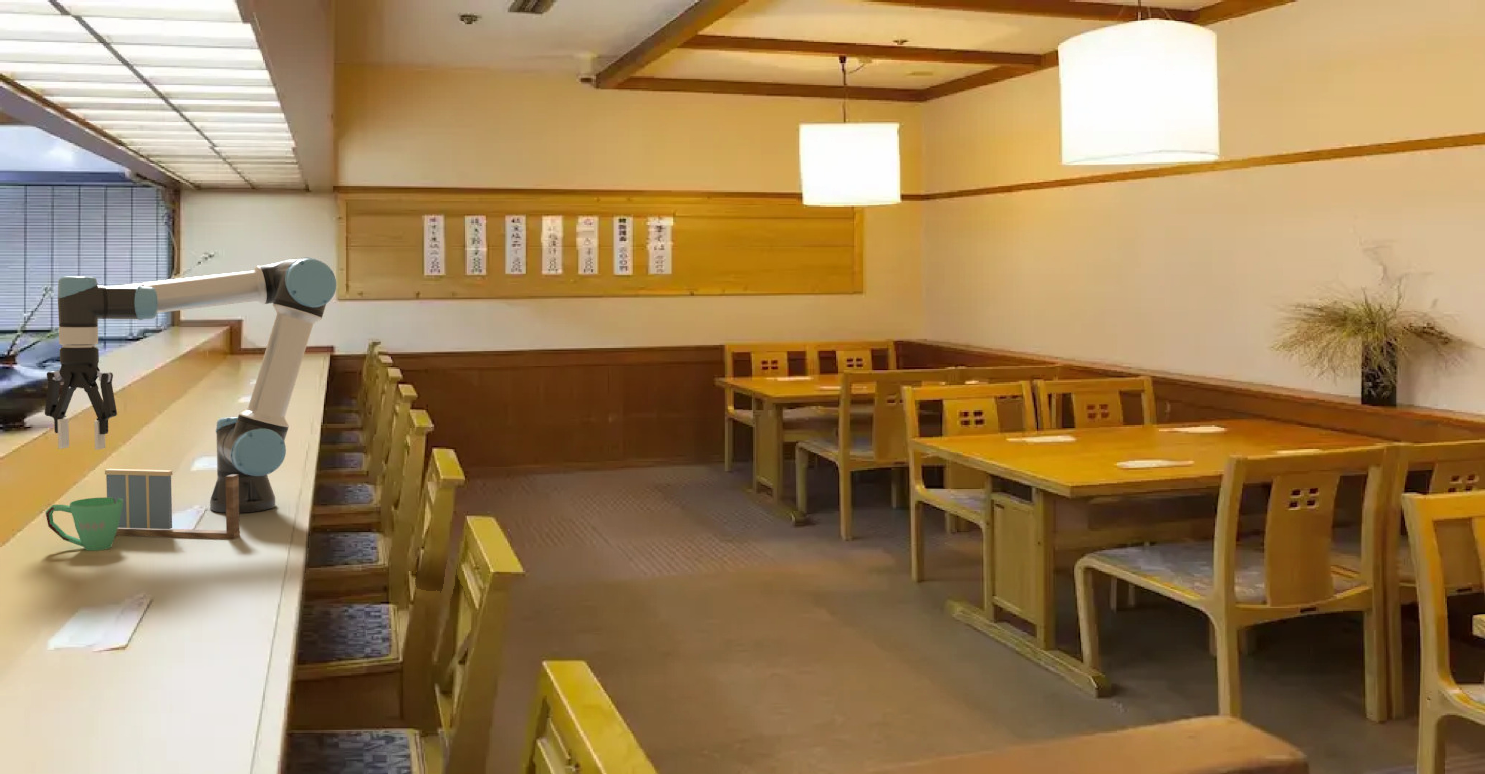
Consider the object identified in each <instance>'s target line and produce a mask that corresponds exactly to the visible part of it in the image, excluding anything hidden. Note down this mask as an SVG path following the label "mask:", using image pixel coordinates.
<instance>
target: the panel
mask: <svg viewBox="0 0 1485 774" xmlns="http://www.w3.org/2000/svg"><path fill="white" fill-rule="evenodd" d="M104 475H106V478H105V480H106V481H105V482H106V497H110V498H114V500H115V503H117V499H118V498H119V499H122V500H123V507H122V511H121V515H120V520H119V525H118V528H146V529H173V507H172V505H173V504H172V500H173V499H172V496H173V495H172V475H173V470H167V469H166V470H165V469H164V470H163V469H134V468H133V469H132V468H131V469H128V468H127V469H124V468H107V469H104Z"/></svg>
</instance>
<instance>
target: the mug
mask: <svg viewBox="0 0 1485 774" xmlns="http://www.w3.org/2000/svg"><path fill="white" fill-rule="evenodd" d="M122 507H123V500H122V499H119V498H118V499H117V503H115V500H114V498H110V497H107V496H105V497H103V496H102V497H89V498H82V499H77V500H74V501H71V502H70V503H69V505H66V504H51V506H49V508H48V509H47V510H46V511H45V516H46V517H45V518H46V521H47V527H48V528H49V529H50V530H51V531H53V533H55V534H56V535H57V536H58V537H60V538H61V539H62V540H63V541H66V542H69V543H71V544H75V545H77V546H80V547H83V548H84V550H85V551H88V552H89V551H92V552H94V551H95V552H96V551H97V552H98V551H103V550H108V549H111V548H112V545H113V542H114V540H115V539H116V536H115V535H116V532H117V529H118V525H119V520H120V515H121V511H122ZM58 511H59V512H60V511H61V512H65V513H69V514H71V515H72V518H73V522H74V528H75V530H76V533H77V536H78V538H77V537H75V536H71V535H69V534H67V533H65V531H64V530H63V529H62V528H60V527H59V525H57V523H55V522H54V518H53V517H54V516H53V514H54V512H58Z"/></svg>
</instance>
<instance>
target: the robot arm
mask: <svg viewBox="0 0 1485 774" xmlns="http://www.w3.org/2000/svg"><path fill="white" fill-rule="evenodd" d="M57 285H58V287H57V309H58V310H57V311H58V342H59V345H60V346H61V347H60V348H59V363H60V365H61V366H60V368H59V370H58V371H57V370H54V371H48V372H46V378H47V382H48V383H47V389H46V390H47V391H46V399H45V407H44V415H45V416H46V417H50V418H52V419H53V420H54V421H53V422H54V428H53V429H54V433H55V434H57V445H58V446H57V447H58V449H61V450H62V449H66V448H70V433H69V432H70V431H69V430H70V429H69V425H70V424H69V418H67V415H66V414H67V412H68V409H69V406H70V403H71V400H72V397H73V395H74V392H75V391H76V390H77V389H79V388H80V389H83V391H84V392H85V393H86V394H87V397H88V399H89V401H90V403H91V405H92V409H93V410H94V412H95V415H96V417H97V418H96V419H95V420H94V421H93V422H94V423H93V425H94V426H93V427H94V450H103V449H106V435H107V434H109V419H111V418H113V417H114V418H115V417H116V416H118V412H117V405H116V401H115V395H114V389H113V378H114V374H113V373H112V372H105V371H101V370H100V369H99V361H100V355H99V353H100V352H99V347H98V346H96V345H98V344H99V323H98V321H99V320H139V321H142V320H153V319H155V318H156V317H157V315H158V314H159V313H160V314H161V313H165V312H167V313H168V312H175V311H176V312H177V311H183V310H184V311H186V310H193V309H201V308H209V307H216V306H218V307H219V306H226V305H227V306H228V305H235V304H242V303H243V304H244V303H251V302H259V303H260V304H262V305H268V304H272V306H273V308H274V310H275V312H276V315H275V318H274V322H273V326H272V329H271V333H270V336H269V338H268V342H267V345H266V349H265V350H264V351H265V352H264V355H263V359H262V362H261V365H260V369H259V370H258V374H257V378H256V380H255V384H254V388H253V390H252V394H251V397H250V400H249V404H248V407H246V409H244V410H243V411H241V412H239V414H238V416H237V417H221V418H218V420H217V422H216V427H215V428H216V429H215V434H216V470H217V471H216V472H217V474H216V475H217V476H216V477H217V478H216V481H215V485H214V488H213V491H212V494H211V497H210V500H209V505H210V506H209V510H211V511H213V512H216V513H217V512H218V513H225V514H226V477H225V476H228V475H231V474H238V475H239V514H241V513H253V512H255V513H256V512H261V511H266V510H271V509H273V508H275V507H276V496H275V492H274V490H273V487H272V485H271V482H270V480H269V475H270V474H272V473H274V472H275V471H277V470H278V469H279V468H280V467H281V465H282V464H283V462H284V461H285V458H286V453H287V448H286V447H287V446H286V443H285V440H286V438H287V433H288V431H289V427H290V426H289V423H288V422H287V420H286V418H285V417H286V414H287V411H288V407H289V404H290V401H291V398H292V394H293V391H294V388H295V385H296V381H297V378H298V375H299V372H300V369H301V365H302V362H303V359H304V356H305V352H306V349H307V347H308V346H307V345H308V343H309V339H310V335H311V333H312V329H313V325H314V324H316V323H317V322H319V321H320V320H322V318H323V316H324V312H325V309H326V307H327V304H328V303H329V302H330V301H331V300H332V299H333V297H334V296H335V293H336V290H337V278H336V276H335V273H334V272H333V270H332V269H331V267H330V266H329V265H328V264H326V263H325V262H323V261H321V260H319V259H316V258H313V257H301V258H300V257H299V258H297V257H296V258H295V257H294V258H289V259H286V260H283V261H278V262H275V263H270V264H263V265H256V266H255V267H254V268H253V269H252V270H248V271H247V270H246V271H245V270H244V271H239V272H238V271H237V272H229V273H220V274H210V275H203V276H202V275H201V276H200V275H199V276H193V277H192V276H191V277H190V276H189V277H184V278H174V279H173V278H172V279H166V280H165V279H164V280H163V279H162V280H155V281H145V282H141V283H140V282H139V283H137V282H136V283H129V284H128V283H127V284H113V285H101V284H99V283H98V281H97V278H96V277H95V276H75V275H74V276H70V275H65V276H62V277H60V278H59V279H58V282H57ZM98 378H99V379H98ZM97 379H98V381H99V382H100V390H101V393H100V392H99V384H97ZM61 380H63V381H64V382H63V384H62V387H61ZM60 387H61V393H60Z"/></svg>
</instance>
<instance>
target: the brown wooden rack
mask: <svg viewBox="0 0 1485 774" xmlns="http://www.w3.org/2000/svg"><path fill="white" fill-rule="evenodd" d="M225 477H226V513H225V519H226V529H225V530H224V529H223V530H222V529H220V530H218V529H185V528H183V529H182V528H181V529H179V528H171V529H146V528H118V529H117V532H116V535H115V537H116V536H121V537H124V536H125V537H152V538H156V537H157V538H193V539H196V538H197V539H221V540H222V539H223V540H225V539H227V540H229V539H232V540H235V539H237V538H238V537H241V530H240V513H239V475H238V474H231V475H228V476H225Z"/></svg>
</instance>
